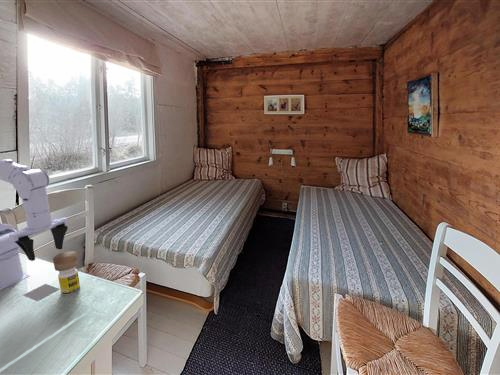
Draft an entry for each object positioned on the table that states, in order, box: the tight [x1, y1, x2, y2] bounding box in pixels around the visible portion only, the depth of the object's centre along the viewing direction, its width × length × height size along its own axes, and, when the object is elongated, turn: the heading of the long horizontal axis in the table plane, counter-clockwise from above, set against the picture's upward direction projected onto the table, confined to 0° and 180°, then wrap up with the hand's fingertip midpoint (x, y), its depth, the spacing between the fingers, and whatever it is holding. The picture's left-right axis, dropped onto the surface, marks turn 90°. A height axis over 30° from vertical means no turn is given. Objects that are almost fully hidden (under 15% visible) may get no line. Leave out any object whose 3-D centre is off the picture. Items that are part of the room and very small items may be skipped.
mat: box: [23, 283, 60, 302], centre depth 78 cm, size 7×6×1 cm
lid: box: [52, 250, 79, 272], centre depth 77 cm, size 6×6×3 cm
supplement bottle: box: [57, 266, 81, 296], centre depth 78 cm, size 5×5×8 cm
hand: (46, 254), depth 80 cm, fingers open, 7 cm apart
